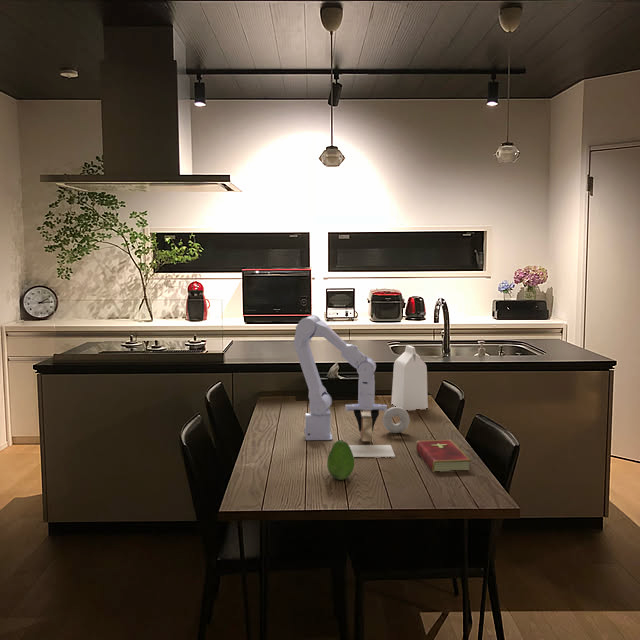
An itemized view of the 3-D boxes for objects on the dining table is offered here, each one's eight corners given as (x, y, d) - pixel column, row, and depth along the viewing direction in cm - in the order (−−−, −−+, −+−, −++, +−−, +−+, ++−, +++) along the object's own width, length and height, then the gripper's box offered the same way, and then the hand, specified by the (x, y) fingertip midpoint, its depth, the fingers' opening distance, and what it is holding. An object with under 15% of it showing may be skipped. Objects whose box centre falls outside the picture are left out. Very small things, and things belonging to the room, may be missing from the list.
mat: (346, 457, 221) (346, 456, 221) (344, 446, 233) (344, 445, 233) (395, 457, 222) (395, 456, 222) (390, 446, 234) (390, 444, 234)
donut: (382, 434, 248) (383, 407, 247) (381, 431, 251) (382, 405, 250) (410, 434, 248) (410, 407, 247) (408, 431, 252) (409, 405, 250)
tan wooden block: (361, 441, 235) (362, 419, 234) (359, 433, 244) (360, 412, 243) (371, 441, 235) (372, 419, 234) (369, 433, 244) (369, 412, 243)
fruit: (338, 472, 208) (338, 434, 207) (359, 478, 203) (359, 439, 202) (321, 479, 202) (322, 440, 200) (343, 485, 197) (343, 445, 196)
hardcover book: (432, 473, 209) (433, 460, 208) (416, 452, 229) (416, 440, 229) (470, 472, 210) (470, 459, 209) (450, 450, 230) (450, 438, 230)
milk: (391, 404, 293) (392, 344, 289) (415, 402, 296) (416, 343, 293) (402, 410, 281) (403, 349, 278) (427, 408, 285) (429, 348, 281)
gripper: (346, 395, 234) (346, 433, 235) (388, 395, 234) (387, 433, 236) (345, 391, 241) (344, 428, 242) (385, 391, 241) (385, 428, 243)
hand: (365, 430), depth 240 cm, fingers closed on tan wooden block, 3 cm apart
